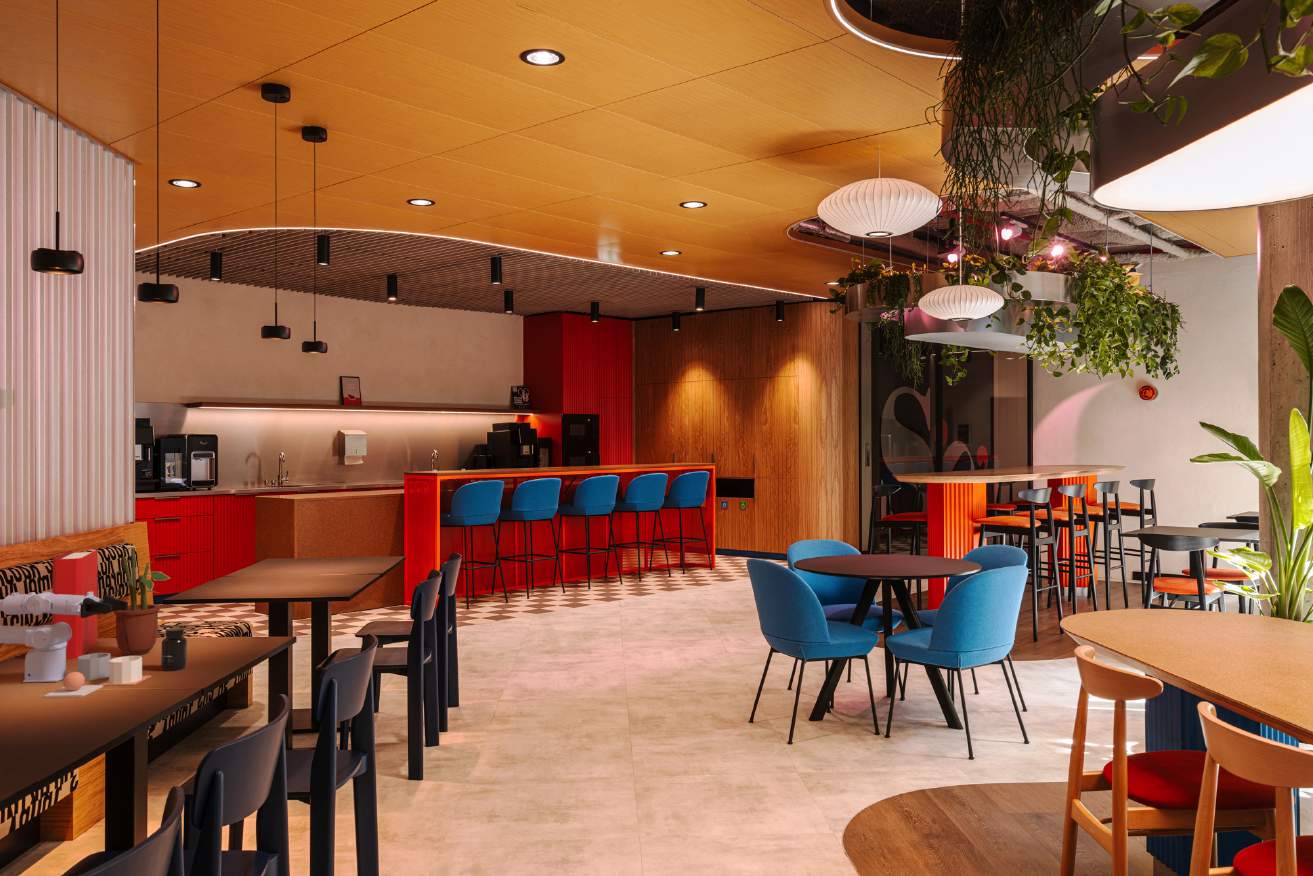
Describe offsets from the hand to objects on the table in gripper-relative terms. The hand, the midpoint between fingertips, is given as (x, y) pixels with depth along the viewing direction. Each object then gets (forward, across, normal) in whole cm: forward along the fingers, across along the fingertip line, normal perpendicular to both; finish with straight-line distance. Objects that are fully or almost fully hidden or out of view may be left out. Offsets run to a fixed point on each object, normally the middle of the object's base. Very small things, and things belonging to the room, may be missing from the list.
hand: (119, 607), depth 255 cm
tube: (+5, -1, +21) cm, 21 cm away
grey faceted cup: (-8, +4, +21) cm, 23 cm away
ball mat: (-3, -12, +22) cm, 25 cm away
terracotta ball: (-3, -13, +19) cm, 23 cm away
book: (-36, +38, +20) cm, 56 cm away
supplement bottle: (+11, +13, +20) cm, 26 cm away
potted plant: (-14, +36, +19) cm, 43 cm away
